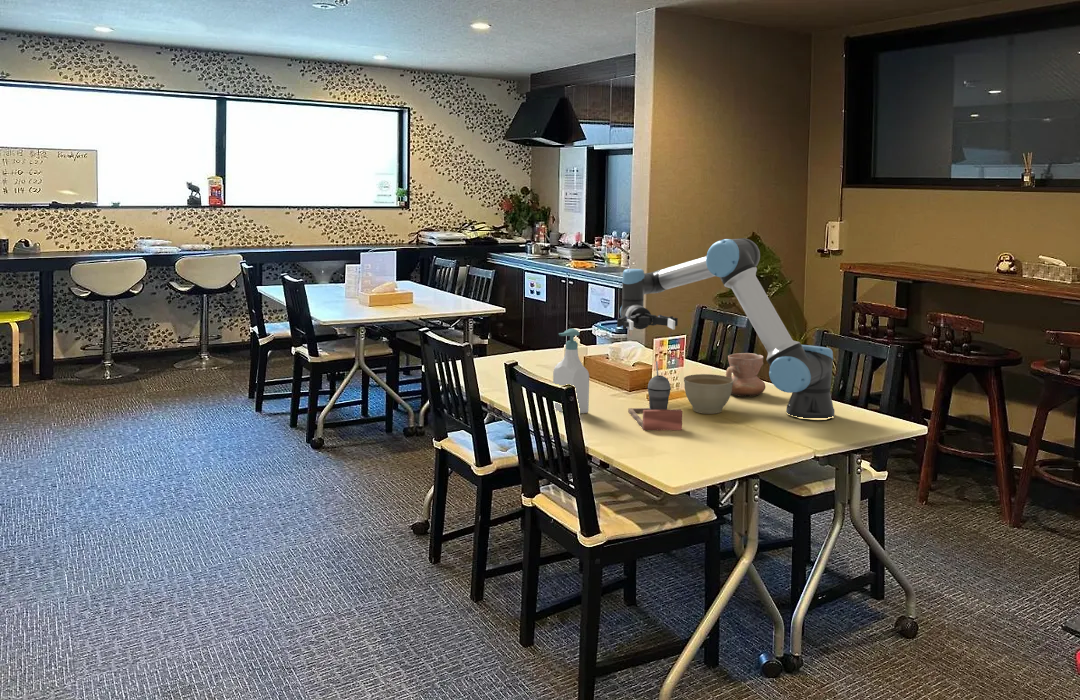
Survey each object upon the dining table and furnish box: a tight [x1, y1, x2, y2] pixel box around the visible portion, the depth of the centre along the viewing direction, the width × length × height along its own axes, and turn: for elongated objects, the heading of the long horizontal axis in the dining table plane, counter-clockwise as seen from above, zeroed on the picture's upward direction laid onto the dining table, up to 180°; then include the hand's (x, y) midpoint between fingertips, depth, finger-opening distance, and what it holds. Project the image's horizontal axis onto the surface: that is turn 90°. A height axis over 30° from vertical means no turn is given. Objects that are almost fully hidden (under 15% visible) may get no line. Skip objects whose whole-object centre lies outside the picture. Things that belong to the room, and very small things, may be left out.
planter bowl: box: [683, 373, 734, 415], centre depth 302 cm, size 16×16×11 cm
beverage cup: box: [646, 360, 672, 410], centre depth 283 cm, size 7×7×20 cm
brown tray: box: [627, 407, 684, 431], centre depth 289 cm, size 23×12×6 cm, turn 6°
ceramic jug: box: [725, 352, 767, 397], centre depth 326 cm, size 18×14×14 cm
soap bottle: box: [552, 328, 590, 414], centre depth 297 cm, size 11×8×27 cm
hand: (653, 325), depth 292 cm, fingers open, 13 cm apart
